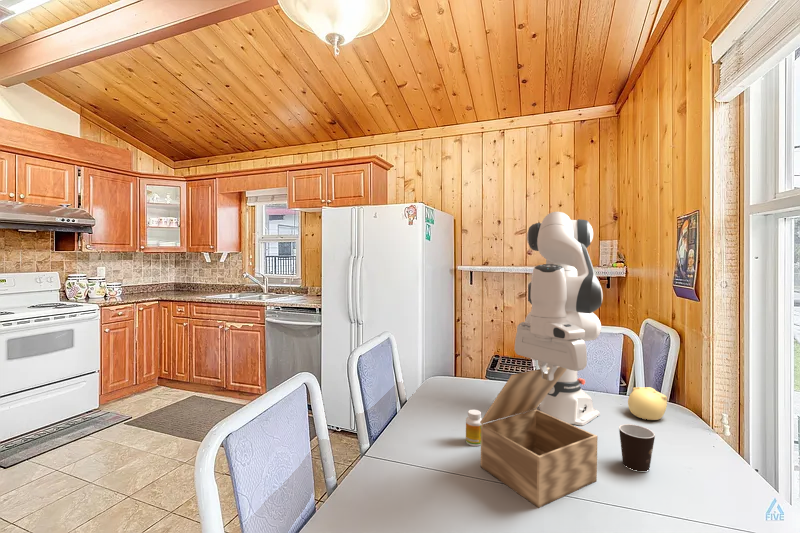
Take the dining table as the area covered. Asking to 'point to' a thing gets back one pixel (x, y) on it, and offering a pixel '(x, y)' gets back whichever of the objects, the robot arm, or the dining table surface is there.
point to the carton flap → (521, 394)
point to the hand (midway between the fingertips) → (547, 379)
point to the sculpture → (647, 403)
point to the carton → (539, 455)
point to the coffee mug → (636, 446)
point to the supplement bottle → (473, 428)
